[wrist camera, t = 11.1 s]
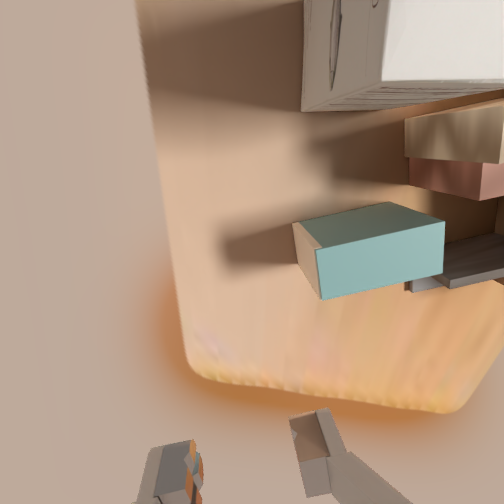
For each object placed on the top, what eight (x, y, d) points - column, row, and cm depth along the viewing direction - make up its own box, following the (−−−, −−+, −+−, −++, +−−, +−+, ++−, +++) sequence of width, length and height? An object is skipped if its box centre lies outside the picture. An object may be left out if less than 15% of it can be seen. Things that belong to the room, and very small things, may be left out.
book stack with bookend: (404, 105, 23) (507, 84, 15) (526, 78, 23) (699, 42, 15) (404, 296, 30) (476, 357, 21) (499, 275, 30) (608, 326, 21)
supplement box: (301, -3, 20) (412, -216, 8) (402, -1, 20) (644, -196, 9) (296, 114, 22) (376, 83, 11) (387, 113, 23) (556, 82, 11)
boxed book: (291, 222, 26) (314, 249, 19) (389, 200, 26) (445, 220, 19) (297, 263, 27) (321, 301, 21) (390, 242, 27) (442, 273, 21)
